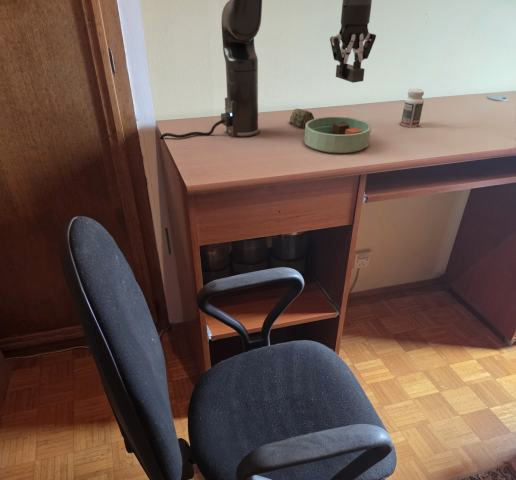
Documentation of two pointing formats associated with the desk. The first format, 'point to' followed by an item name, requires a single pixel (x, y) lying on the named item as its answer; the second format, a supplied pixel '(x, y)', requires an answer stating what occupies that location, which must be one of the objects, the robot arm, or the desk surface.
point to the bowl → (325, 141)
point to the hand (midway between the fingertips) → (349, 77)
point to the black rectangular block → (352, 73)
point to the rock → (300, 117)
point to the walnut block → (339, 128)
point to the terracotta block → (352, 131)
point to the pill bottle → (413, 108)
